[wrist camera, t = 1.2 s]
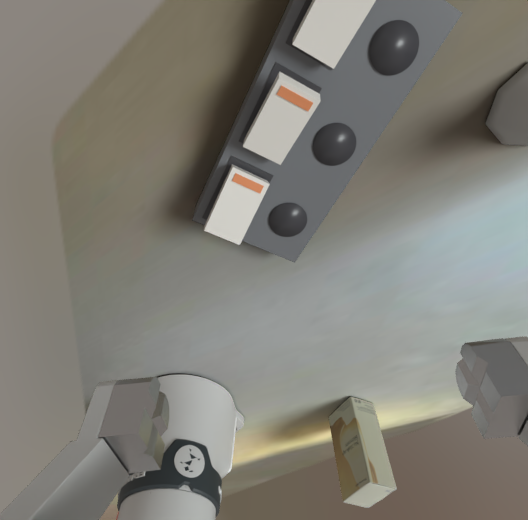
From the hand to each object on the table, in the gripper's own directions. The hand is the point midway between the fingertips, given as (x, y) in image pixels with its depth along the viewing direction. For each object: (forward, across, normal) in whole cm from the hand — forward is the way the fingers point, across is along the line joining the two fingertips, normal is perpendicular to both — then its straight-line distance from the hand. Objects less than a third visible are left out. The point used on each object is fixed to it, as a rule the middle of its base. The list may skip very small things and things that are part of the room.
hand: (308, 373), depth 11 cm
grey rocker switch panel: (+28, -3, +3) cm, 29 cm away
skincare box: (+27, -7, +46) cm, 54 cm away
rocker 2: (+24, -5, -6) cm, 25 cm away
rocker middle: (+24, -1, +1) cm, 24 cm away
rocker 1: (+24, +4, +8) cm, 25 cm away
